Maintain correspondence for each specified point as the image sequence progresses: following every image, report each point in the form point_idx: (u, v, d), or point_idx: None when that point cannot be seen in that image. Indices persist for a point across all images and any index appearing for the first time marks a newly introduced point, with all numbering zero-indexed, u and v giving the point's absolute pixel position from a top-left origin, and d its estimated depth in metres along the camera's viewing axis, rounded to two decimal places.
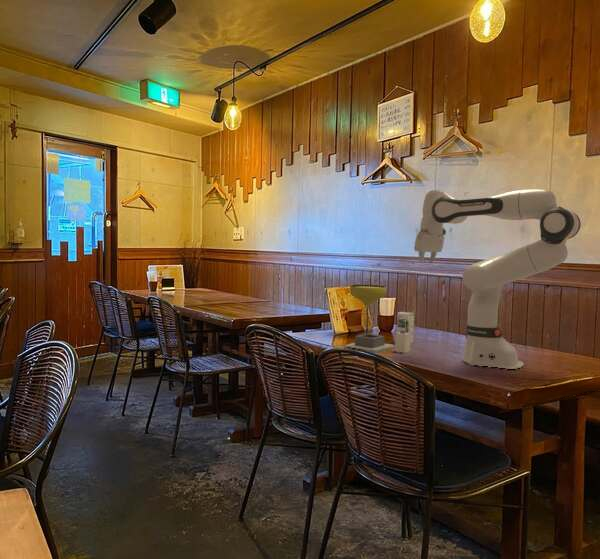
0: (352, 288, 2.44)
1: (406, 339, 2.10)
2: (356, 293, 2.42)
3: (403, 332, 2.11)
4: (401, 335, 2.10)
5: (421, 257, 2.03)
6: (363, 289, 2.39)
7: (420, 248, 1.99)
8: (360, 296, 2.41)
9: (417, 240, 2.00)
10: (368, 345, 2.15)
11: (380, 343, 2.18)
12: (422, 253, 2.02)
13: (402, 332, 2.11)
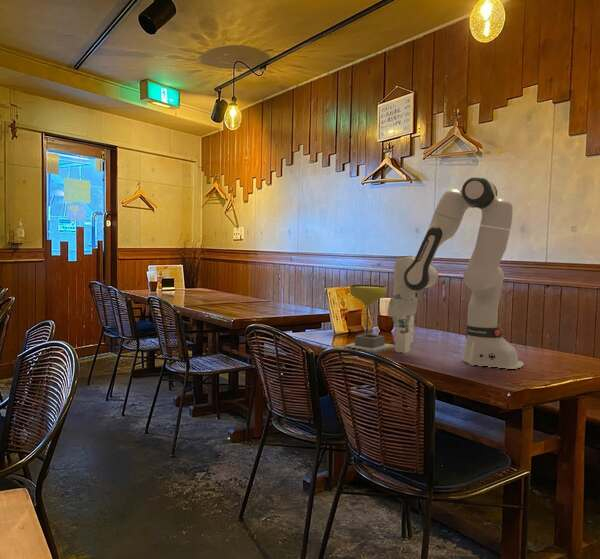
0: (352, 288, 2.44)
1: (406, 339, 2.10)
2: (356, 293, 2.42)
3: (403, 332, 2.11)
4: (401, 335, 2.10)
5: (395, 322, 2.07)
6: (363, 289, 2.39)
7: (393, 314, 2.03)
8: (360, 296, 2.41)
9: (390, 306, 2.04)
10: (368, 345, 2.15)
11: (380, 343, 2.18)
12: (396, 318, 2.06)
13: (402, 332, 2.11)
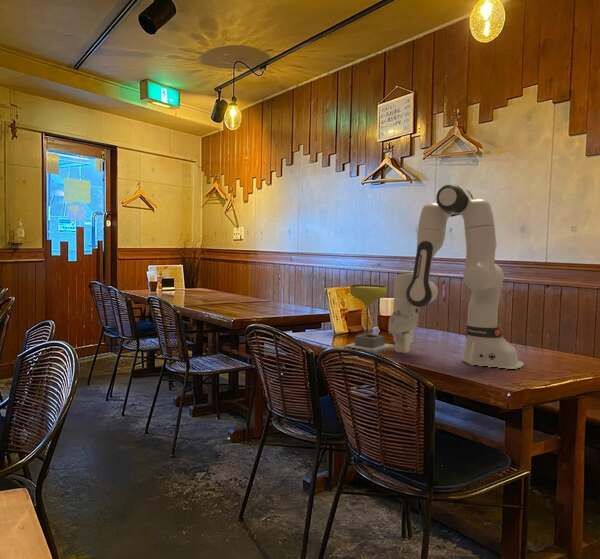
0: (352, 288, 2.44)
1: (406, 339, 2.10)
2: (356, 293, 2.42)
3: (403, 332, 2.11)
4: (401, 335, 2.10)
5: (398, 338, 2.09)
6: (363, 289, 2.39)
7: (394, 331, 2.03)
8: (360, 296, 2.41)
9: (390, 323, 2.05)
10: (368, 345, 2.15)
11: (380, 343, 2.18)
12: (399, 334, 2.08)
13: None
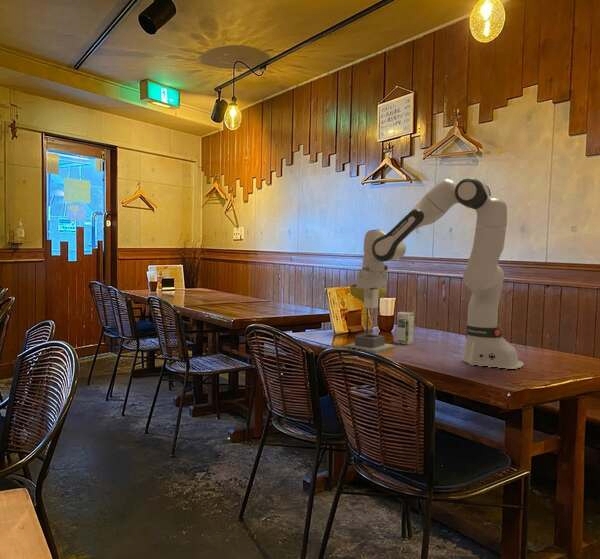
0: (352, 288, 2.44)
1: (374, 295, 2.17)
2: (356, 293, 2.42)
3: (372, 288, 2.17)
4: (370, 291, 2.17)
5: (367, 293, 2.15)
6: (363, 289, 2.39)
7: (362, 285, 2.10)
8: (360, 296, 2.41)
9: (359, 278, 2.11)
10: (368, 345, 2.15)
11: (380, 343, 2.18)
12: (367, 289, 2.14)
13: (371, 288, 2.17)
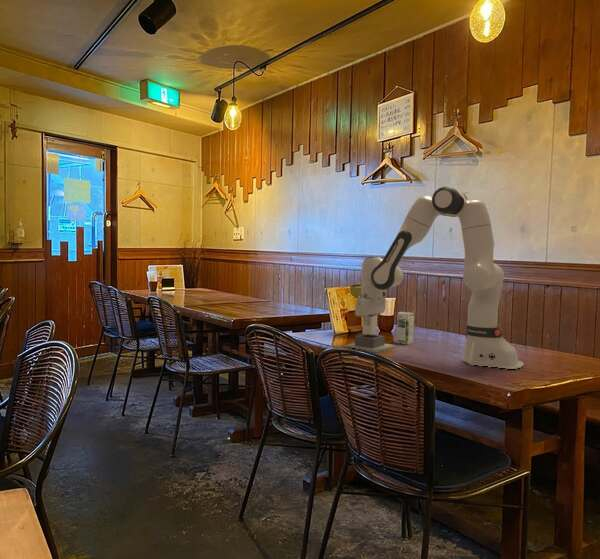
0: (352, 288, 2.44)
1: (373, 321, 2.18)
2: (356, 293, 2.42)
3: (370, 315, 2.18)
4: (368, 317, 2.18)
5: (365, 320, 2.16)
6: None
7: (360, 313, 2.11)
8: None
9: (357, 305, 2.12)
10: (368, 345, 2.15)
11: (380, 343, 2.18)
12: (365, 316, 2.15)
13: (369, 315, 2.18)
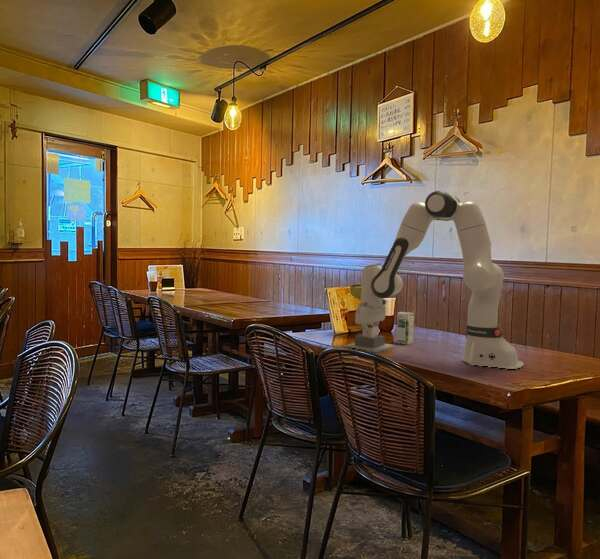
0: (352, 288, 2.44)
1: (373, 333, 2.18)
2: (356, 293, 2.42)
3: (370, 326, 2.19)
4: (368, 329, 2.18)
5: (364, 329, 2.16)
6: None
7: (360, 321, 2.11)
8: (360, 296, 2.41)
9: (357, 314, 2.12)
10: (368, 345, 2.15)
11: (380, 343, 2.18)
12: (364, 325, 2.15)
13: (369, 326, 2.19)
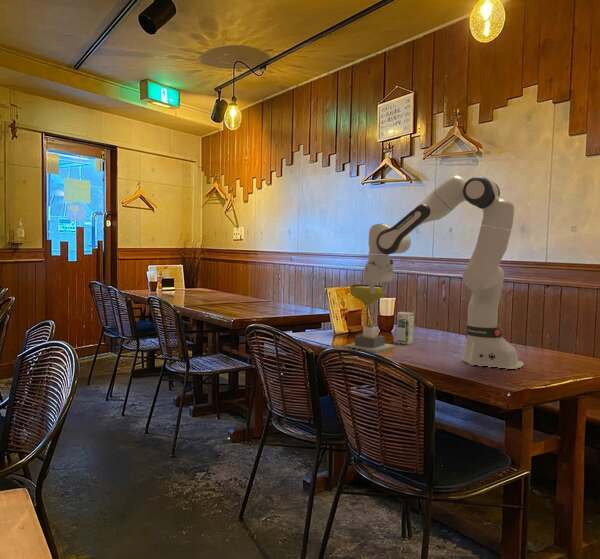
0: (352, 288, 2.44)
1: (373, 333, 2.18)
2: (356, 293, 2.42)
3: (370, 326, 2.19)
4: (368, 329, 2.18)
5: (371, 288, 2.14)
6: (363, 289, 2.39)
7: (369, 279, 2.10)
8: (360, 296, 2.41)
9: (365, 272, 2.11)
10: (368, 345, 2.15)
11: (380, 343, 2.18)
12: (372, 284, 2.13)
13: (369, 326, 2.19)
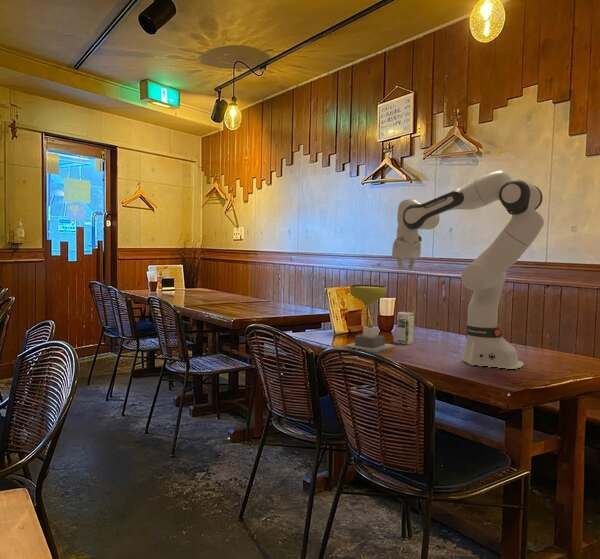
0: (352, 288, 2.44)
1: (373, 333, 2.18)
2: (356, 293, 2.42)
3: (370, 326, 2.19)
4: (368, 329, 2.18)
5: (400, 264, 2.13)
6: (363, 289, 2.39)
7: (397, 255, 2.09)
8: (360, 296, 2.41)
9: (394, 248, 2.10)
10: (368, 345, 2.15)
11: (380, 343, 2.18)
12: (400, 260, 2.12)
13: (369, 326, 2.19)
